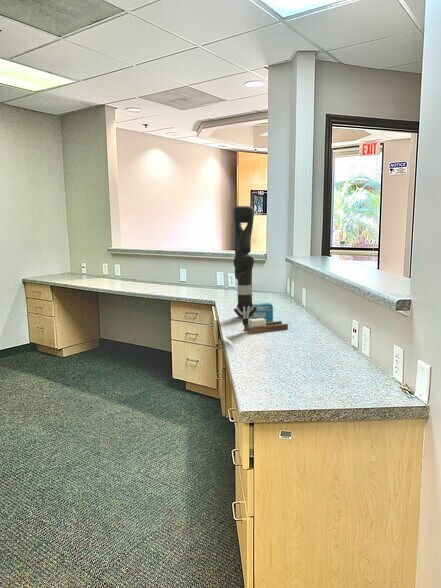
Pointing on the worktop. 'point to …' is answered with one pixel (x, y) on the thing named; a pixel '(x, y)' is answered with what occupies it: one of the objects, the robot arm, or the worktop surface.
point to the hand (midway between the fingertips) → (245, 325)
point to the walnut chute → (267, 327)
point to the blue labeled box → (263, 311)
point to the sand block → (257, 322)
